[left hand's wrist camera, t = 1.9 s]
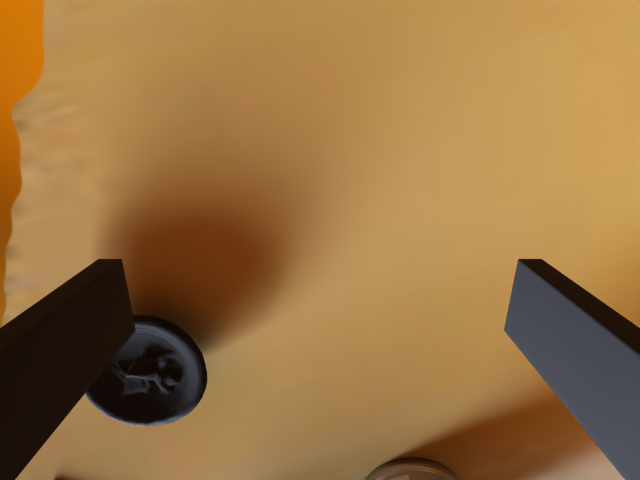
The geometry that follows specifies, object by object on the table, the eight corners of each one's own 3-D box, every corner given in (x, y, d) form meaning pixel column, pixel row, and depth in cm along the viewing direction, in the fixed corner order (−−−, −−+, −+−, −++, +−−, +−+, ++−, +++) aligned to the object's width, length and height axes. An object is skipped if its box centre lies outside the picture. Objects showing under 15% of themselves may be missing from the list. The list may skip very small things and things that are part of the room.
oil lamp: (72, 265, 43) (41, 285, 38) (232, 326, 45) (222, 352, 41) (47, 362, 47) (17, 390, 43) (194, 412, 50) (181, 444, 45)
